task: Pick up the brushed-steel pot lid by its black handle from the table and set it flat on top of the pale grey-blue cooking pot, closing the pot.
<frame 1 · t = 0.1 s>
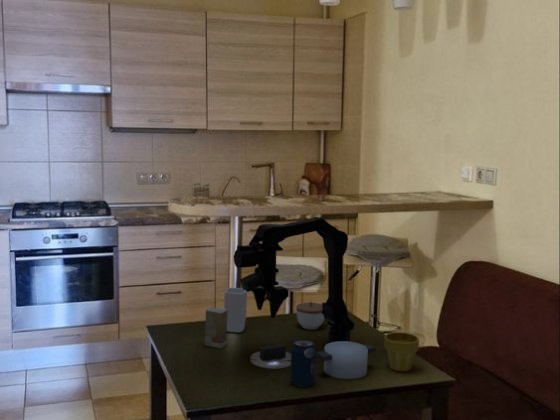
hand: (266, 313, 204), 14 cm above the table, tool pointing down, fingers open, 9 cm apart
cup: (235, 331, 232), on the table
soda can: (302, 383, 187), on the table
pot: (345, 370, 197), on the table
skincare box: (215, 345, 217), on the table
plant pot: (400, 368, 201), on the table
lidded jar: (310, 327, 238), on the table
lid: (272, 361, 204), on the table
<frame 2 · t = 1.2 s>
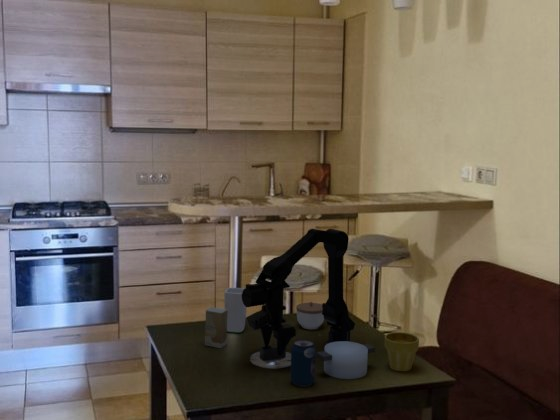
hand: (273, 350, 204), 3 cm above the table, tool pointing down, fingers open, 9 cm apart
nothing on the table moved.
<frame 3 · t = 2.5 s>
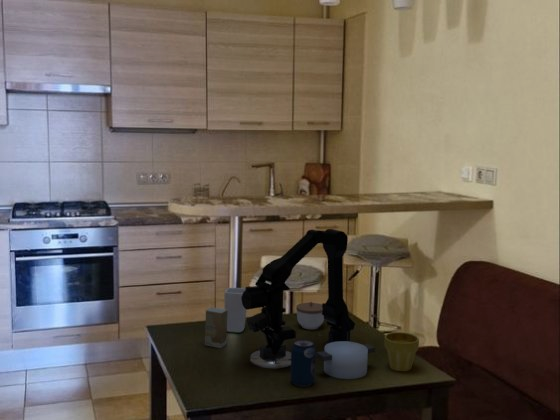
hand: (272, 353, 204), 2 cm above the table, tool pointing down, fingers closed on lid, 2 cm apart
lid: (272, 360, 204), on the table, touching gripper
everything else where it was.
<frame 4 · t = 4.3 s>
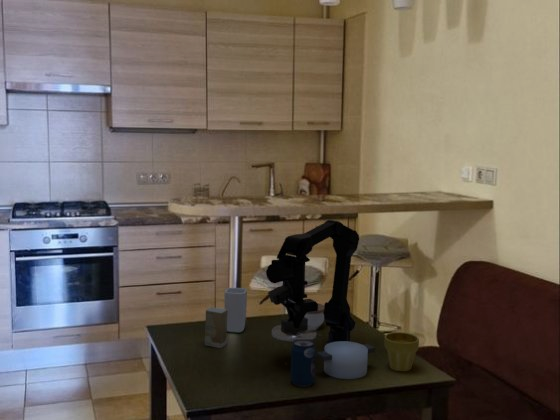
hand: (294, 326, 201), 12 cm above the table, tool pointing down, fingers closed on lid, 2 cm apart
lid: (294, 334, 201), point 9 cm above the table, touching gripper
everything else where it was.
when the fingers open (10 cm above the table, at t = 6.2 s): lid stays where it is, resting on pot.
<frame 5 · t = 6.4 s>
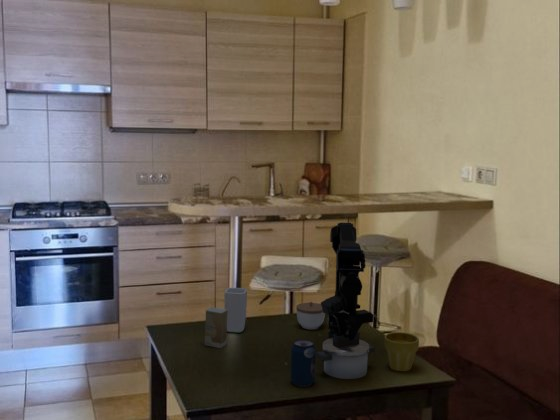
hand: (346, 337, 196), 10 cm above the table, tool pointing down, fingers open, 5 cm apart
lid: (345, 348, 196), point 7 cm above the table, touching pot
everything else where it was.
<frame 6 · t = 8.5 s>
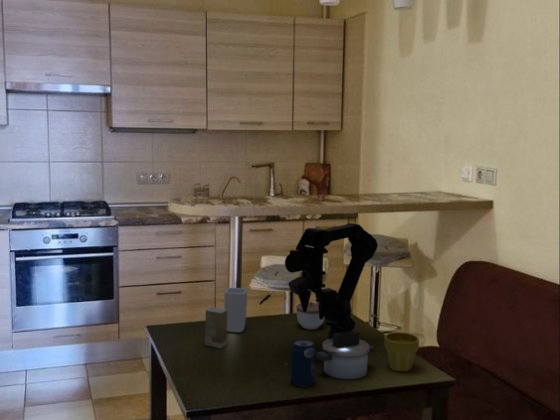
hand: (312, 315, 209), 13 cm above the table, tool pointing down, fingers open, 9 cm apart
nothing on the table moved.
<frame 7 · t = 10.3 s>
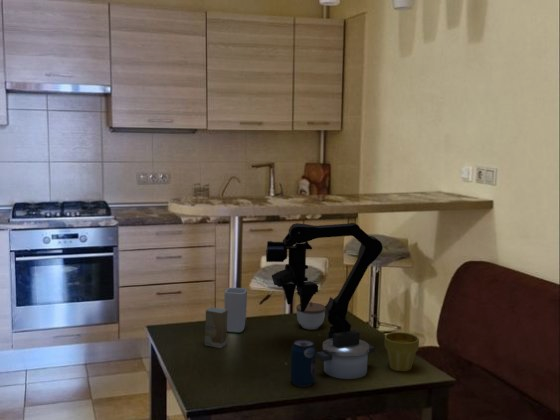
hand: (295, 307, 216), 13 cm above the table, tool pointing down, fingers open, 9 cm apart
nothing on the table moved.
at the end: lid 0.1 cm off-centre on the pot, point 7.0 cm above the pot's base; lid tilted 0°; the gripper is holding nothing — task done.
